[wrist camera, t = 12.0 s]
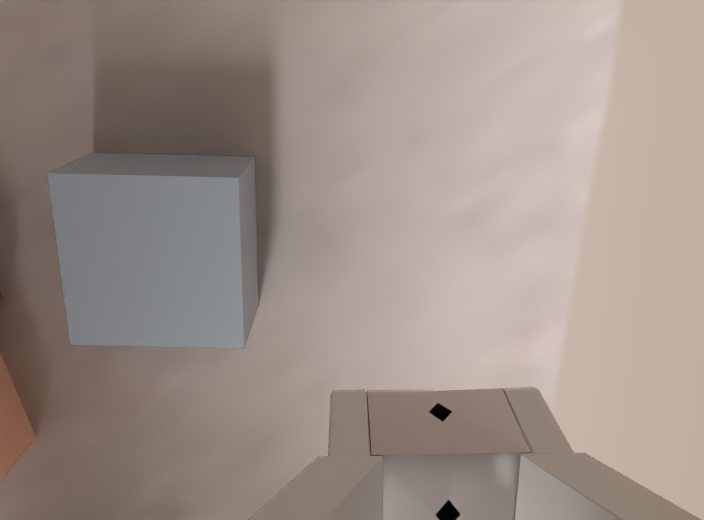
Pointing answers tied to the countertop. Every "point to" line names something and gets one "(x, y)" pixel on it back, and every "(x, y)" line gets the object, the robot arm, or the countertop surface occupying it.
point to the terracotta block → (11, 423)
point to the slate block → (157, 249)
